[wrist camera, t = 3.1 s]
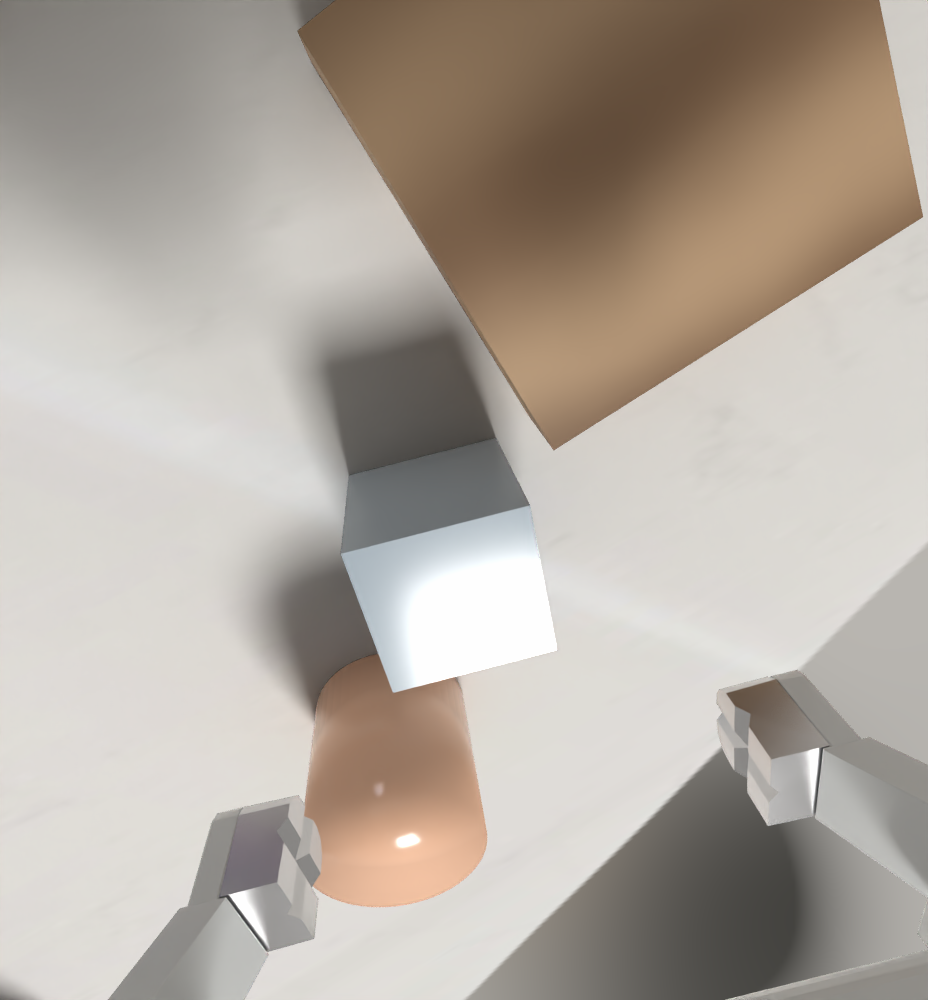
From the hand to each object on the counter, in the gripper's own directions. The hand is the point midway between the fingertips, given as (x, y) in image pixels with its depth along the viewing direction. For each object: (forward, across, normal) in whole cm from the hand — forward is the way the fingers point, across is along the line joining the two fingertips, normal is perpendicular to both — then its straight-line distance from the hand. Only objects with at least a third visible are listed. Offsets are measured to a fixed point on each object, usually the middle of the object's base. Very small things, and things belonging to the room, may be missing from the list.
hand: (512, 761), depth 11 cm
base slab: (+11, -6, -10) cm, 16 cm away
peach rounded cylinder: (+10, +5, +8) cm, 14 cm away
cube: (+10, +1, 0) cm, 11 cm away
